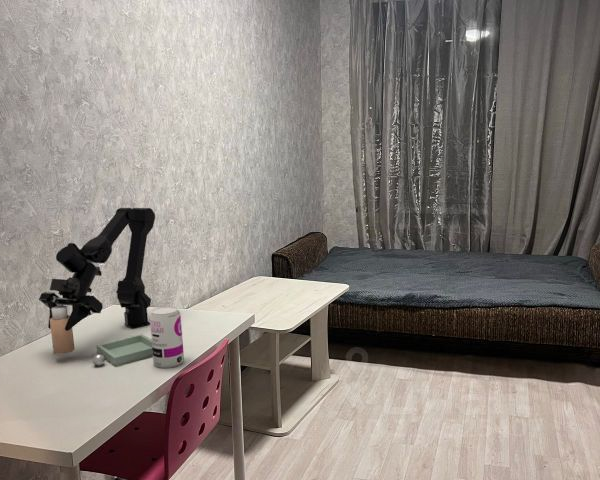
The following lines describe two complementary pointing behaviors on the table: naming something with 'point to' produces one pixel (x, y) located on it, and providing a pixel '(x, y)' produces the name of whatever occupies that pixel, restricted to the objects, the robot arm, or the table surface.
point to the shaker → (61, 331)
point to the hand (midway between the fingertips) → (57, 329)
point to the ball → (98, 360)
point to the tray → (126, 350)
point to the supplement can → (166, 337)
